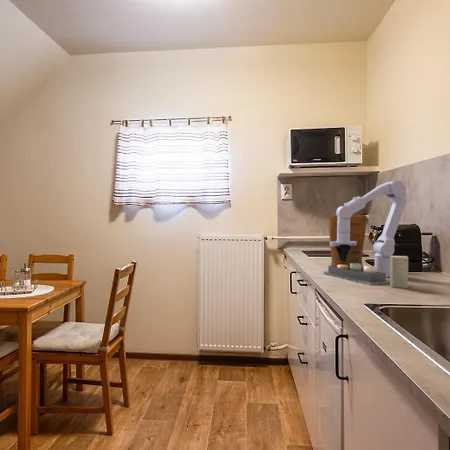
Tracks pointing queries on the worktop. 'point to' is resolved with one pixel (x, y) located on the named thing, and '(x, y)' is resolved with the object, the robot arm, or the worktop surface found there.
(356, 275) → the button panel
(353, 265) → the sage button
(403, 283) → the skincare box
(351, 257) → the pancake mix bag
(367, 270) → the ivory button
